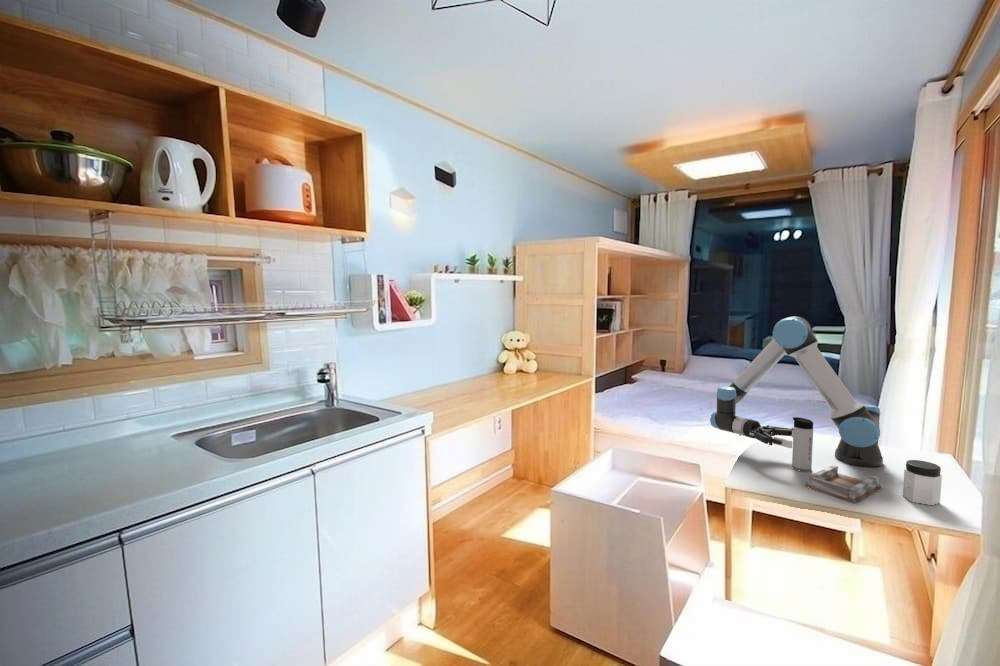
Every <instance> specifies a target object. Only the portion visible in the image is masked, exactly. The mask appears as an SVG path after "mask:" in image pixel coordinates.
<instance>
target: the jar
mask: <svg viewBox="0 0 1000 666" xmlns="http://www.w3.org/2000/svg"><path fill="white" fill-rule="evenodd" d="M942 478H943V475H942V474H941V466H940V465H938V464H936V463H933V462H930V461H924V460H920V459H909V460H907V461H906V463H905V468H904V469H903V481H902V482H903V483H902V496H903V498H905V497H906V498H905V499H907V500H909V501H910V500H911V501H910V502H912V503H914V502H916V503H915V504H919V503H922V504H921V505H924V504H928V505H927V506H929V505H933V506H936V505H939V504H940V503H941V492H942V480H943V479H942ZM938 503H939V504H938ZM935 504H936V505H935Z"/></svg>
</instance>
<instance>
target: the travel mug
mask: <svg viewBox="0 0 1000 666" xmlns="http://www.w3.org/2000/svg"><path fill="white" fill-rule="evenodd" d="M792 420H793V427H792V428H793V437H792V454H791V455H792V460H791V468H792V467H793V468H794V469H793V468H792V469H793V470H795V469H796V470H795V471H798V470H800V471H799V472H802V471H809V472H812V465H813V445H814V443H813V442H814V441H813V440H814V421H812V420H811V419H808V418H804V417H799V416H798V417H796V416H793V417H792Z"/></svg>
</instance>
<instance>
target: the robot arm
mask: <svg viewBox="0 0 1000 666" xmlns="http://www.w3.org/2000/svg"><path fill="white" fill-rule="evenodd" d="M818 344H819V341H818V339H817V337H816V335H814V333H813V332H812V327H811V324H810V323H809V321H808V320H806V319H805V318H804V317H802V316H797V315H794V316H793V315H792V316H789V317H785V318H782V319H780V320H779V321H777V322H776V324H775V325H774V327H773V330H772V336H771V341H770V342H769V343H768V344H767V345H766V346H765V347H764V348H763V349H762V350H761V351H760V353H759V354H758V355H757V356H756V357H755V358H754V359H753V360H751V361H752V362H750V363H749V364H748V366H747V367H746V368H745V369H744V370H742V372H741V373H740V374H739V375H738V376H737V377H736V378H735V379H734V380H733V382H732V383H731V384H730V385H728V386H725V385H722V386H719V387H717V390H716V391H717V392H716V411H714V412H712V413H711V415H710V418H709V422H710V425H711V427H713V428H715V429H718V430H720V431H724V432H728V433H732V434H736V435H738V436H739V437H741V436H743V437H744V436H745V437H747V438H749V439H756V440H757V441H759V442H761V443H763V444H765V445H769V446H773V445H777V446H780V447H784V448H788V449H793V440H790V439H789V440H788V439H785V438H781V437H777V436H782V437H783V436H784V437H791V438H793V428H794V427H791V428H790V427H782V426H776V425H775V426H774V425H769V424H767V425H761V423H760V422H759V421H758V420H755V419H751V418H750V419H749V418H746V417H743V416H737V415H736V413H737V412H736V411H737V410H736V406H737V404H738V403H740V402H741V401H742V400H743V399H744V397H745V396H746V395H747V394H748V393H749V392H751V390H752V389H753V388H754V387H755V386H756V385H757V384H758V383H759V382H760V381H761V380H762V379H763V377H765V375H766V374H768V372H770V371H771V369H772V368H774V366H776V365H777V364H778V362H779V361H781V359H782V358H783V357H785V355H787V356H789V357H791V358H794V359H795V361H796V362H797V363H798V365H799V366H800V368H801V369H802V371H803V372H804V373H805V375H806V376H807V378H808V380H809V381H810V382H811V384H812V385H813V388H815V390H816V391H817V392H818V394H819V396H821V398H822V401H824V402H825V404H826V405H827V407H828V408H829V410H830V411H831V414H830V416H829V417H830V419H831V421H833V423H834V425H835V426H836V427H837V429H838V433H839V434H838V435H839V436H840V440H839V442H838V445H837V448H836V449H835V451H834V457H835V459H837V460H839V461H840V462H843V463H846V464H849V465H853V466H858V467H866V468H878V467H882V466H883V464H884V457H883V456H882V452H881V449H880V447H879V439H880V436H881V428H880V417H881V416H880V415H881V409H880V407H878V406H876V405H872V404H866V403H861V402H857V401H856V400H855V399H854V397H853V396H852V394H851V393H850V391H849V390H848V389H847V387H846V386H845V384H844V383H843V382H842V380H841V379H840V378H839V376H838V375H837V373H836V372H835V370H834V369H833V368H832V366H831V365H830V363H829V361H827V359H826V357H825V356H824V355H823V353H822V352H821V351H820V350H819V347H818Z"/></svg>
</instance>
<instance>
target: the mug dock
mask: <svg viewBox="0 0 1000 666" xmlns="http://www.w3.org/2000/svg"><path fill="white" fill-rule="evenodd" d="M838 470H839V466H838V465H835V464H832V465H830V466H828V467H826V468H824V469H821V470H818V471H817V472H814V473H812V474H809V475H808V480H807V481H808V482H806V483H804V487H805V486H806V487H805V488H807V487H809V488H808V489H810V488H811V489H810V490H813V489H814V490H813V491H816V490H817V491H816V492H819V493H822V494H825V495H828V496H831V497H833V498H836V499H840V500H843V501H846V502H849V503H853V504H857V503H859V502H861V501H862V500H864V499H866V498H868V497H870V496H872V495H873V494H875V493H876V492H878V490H879V491H880V490H882V486H883V485H879V477H877V476H874V475H872V476H871V477H869V478H867V479H864V480H862V479H860V478H856V477H852V476H849V475H846V474H842V473H839V471H838Z"/></svg>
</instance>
